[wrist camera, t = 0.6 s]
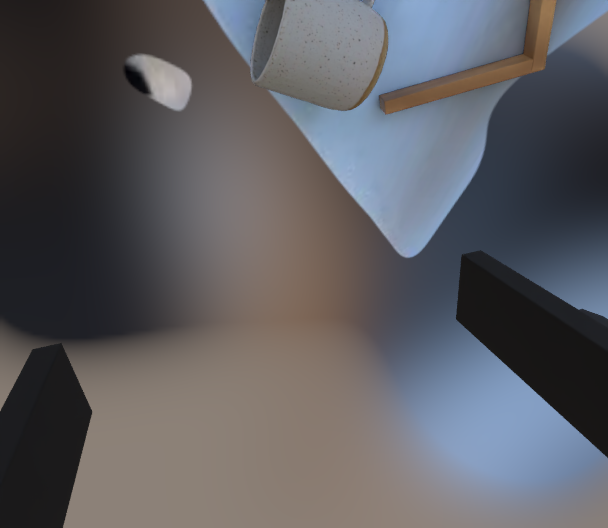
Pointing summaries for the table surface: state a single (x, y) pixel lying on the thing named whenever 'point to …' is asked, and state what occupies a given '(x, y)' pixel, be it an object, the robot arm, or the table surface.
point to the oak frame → (486, 74)
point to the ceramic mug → (320, 50)
